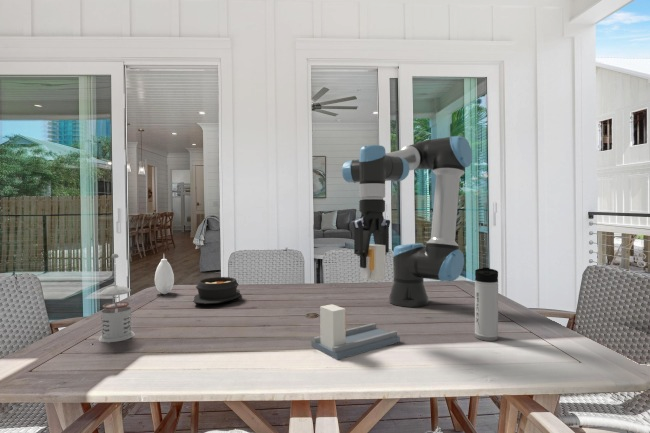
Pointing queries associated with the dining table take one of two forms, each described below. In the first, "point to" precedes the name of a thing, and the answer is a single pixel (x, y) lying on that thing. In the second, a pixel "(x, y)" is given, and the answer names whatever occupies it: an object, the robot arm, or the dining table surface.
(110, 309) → the french press
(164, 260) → the bulb air blower
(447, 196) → the robot arm
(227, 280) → the casserole
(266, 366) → the dining table surface
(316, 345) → the rail
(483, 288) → the travel mug
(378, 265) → the white block orange panel
